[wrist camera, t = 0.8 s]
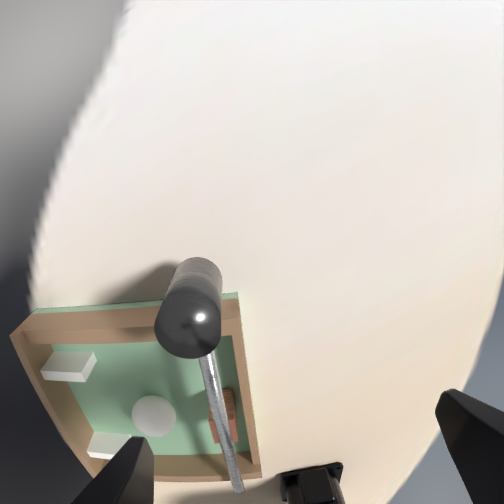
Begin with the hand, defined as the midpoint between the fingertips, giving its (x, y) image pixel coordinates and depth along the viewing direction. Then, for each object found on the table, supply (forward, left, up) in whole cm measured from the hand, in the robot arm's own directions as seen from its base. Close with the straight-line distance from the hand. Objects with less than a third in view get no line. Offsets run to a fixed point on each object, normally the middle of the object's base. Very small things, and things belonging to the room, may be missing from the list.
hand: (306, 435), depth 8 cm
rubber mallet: (-7, +4, -11) cm, 14 cm away
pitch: (-9, +9, -12) cm, 18 cm away
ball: (-9, +8, -10) cm, 16 cm away
